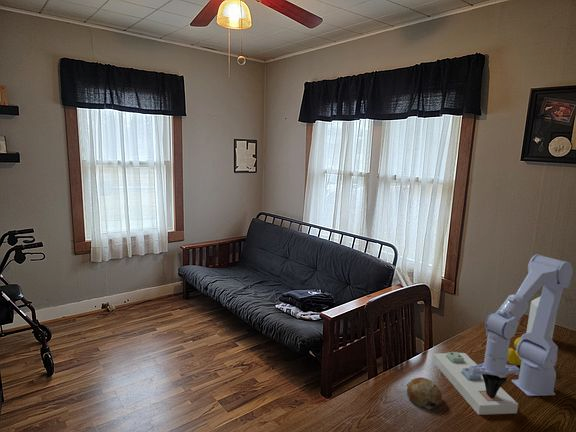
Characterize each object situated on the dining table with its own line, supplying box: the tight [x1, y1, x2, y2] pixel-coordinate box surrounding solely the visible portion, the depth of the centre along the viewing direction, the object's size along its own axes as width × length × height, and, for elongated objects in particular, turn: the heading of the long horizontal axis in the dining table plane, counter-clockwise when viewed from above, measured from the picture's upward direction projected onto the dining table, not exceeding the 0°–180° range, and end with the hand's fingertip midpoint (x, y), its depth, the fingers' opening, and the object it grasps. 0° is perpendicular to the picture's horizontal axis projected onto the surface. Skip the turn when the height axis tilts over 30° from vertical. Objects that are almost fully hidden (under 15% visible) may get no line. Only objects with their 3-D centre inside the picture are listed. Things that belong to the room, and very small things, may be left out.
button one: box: [480, 392, 501, 401], centre depth 113 cm, size 4×4×3 cm
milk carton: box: [525, 295, 557, 340], centre depth 153 cm, size 7×7×19 cm
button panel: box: [432, 352, 519, 416], centre depth 123 cm, size 12×28×3 cm, turn 6°
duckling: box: [507, 336, 521, 366], centre depth 135 cm, size 11×5×10 cm, turn 108°
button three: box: [462, 368, 481, 381], centre depth 122 cm, size 4×4×3 cm
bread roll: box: [406, 376, 443, 410], centre depth 115 cm, size 10×10×8 cm
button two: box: [446, 351, 464, 363], centre depth 132 cm, size 4×4×3 cm
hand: (490, 395), depth 112 cm, fingers closed, pressing on button one
